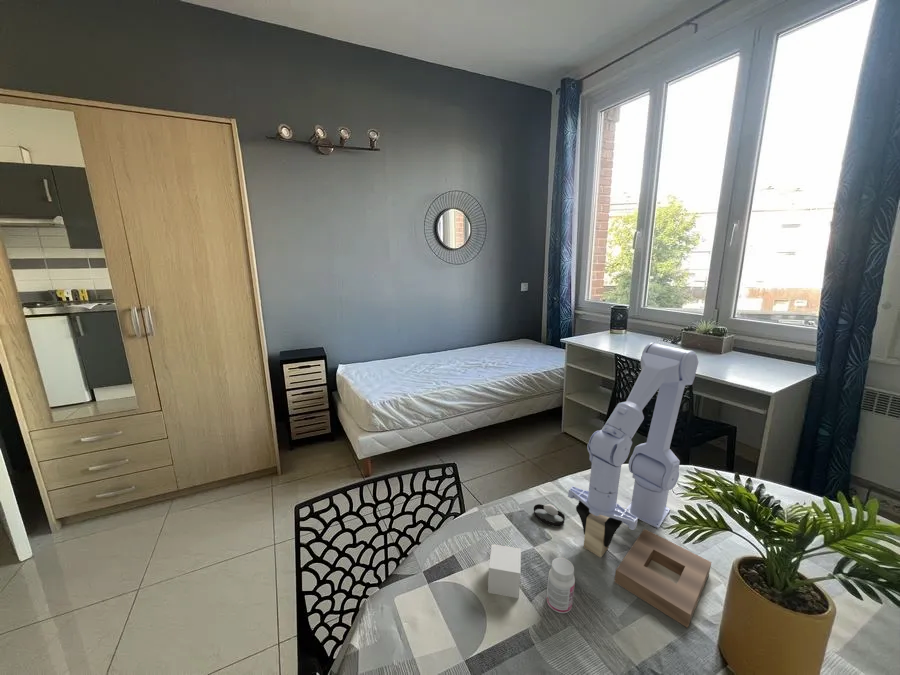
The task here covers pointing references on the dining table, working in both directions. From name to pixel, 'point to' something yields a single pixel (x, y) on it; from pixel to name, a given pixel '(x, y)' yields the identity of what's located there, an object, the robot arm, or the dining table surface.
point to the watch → (552, 511)
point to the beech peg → (595, 534)
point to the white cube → (504, 571)
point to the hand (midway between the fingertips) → (597, 538)
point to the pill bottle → (561, 585)
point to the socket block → (664, 576)
